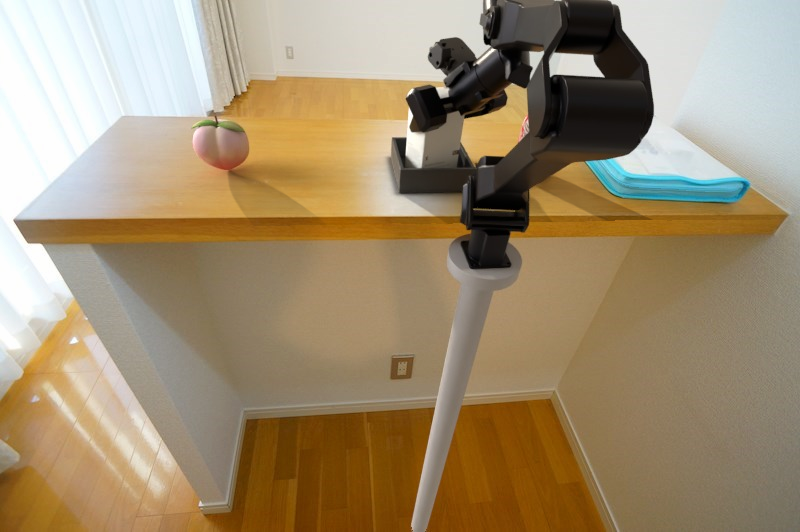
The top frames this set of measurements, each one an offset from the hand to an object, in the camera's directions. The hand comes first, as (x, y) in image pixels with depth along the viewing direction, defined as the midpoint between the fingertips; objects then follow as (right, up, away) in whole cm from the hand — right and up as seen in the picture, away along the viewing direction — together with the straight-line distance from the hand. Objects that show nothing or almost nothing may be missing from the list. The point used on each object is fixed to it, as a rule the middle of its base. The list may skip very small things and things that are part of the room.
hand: (430, 123), depth 73 cm
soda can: (+20, -7, +8) cm, 23 cm away
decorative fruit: (-37, -7, +3) cm, 38 cm away
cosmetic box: (0, -8, +5) cm, 9 cm away
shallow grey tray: (0, -8, +6) cm, 10 cm away
